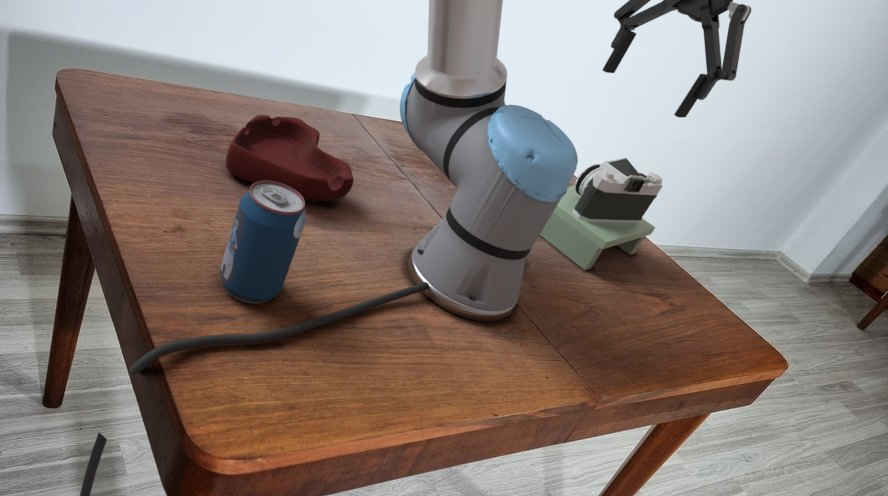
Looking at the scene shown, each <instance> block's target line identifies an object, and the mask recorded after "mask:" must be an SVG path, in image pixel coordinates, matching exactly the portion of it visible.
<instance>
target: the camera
mask: <svg viewBox="0 0 888 496" xmlns="http://www.w3.org/2000/svg"><path fill="white" fill-rule="evenodd" d="M574 186H575V189H576V192H577V193H578V194H579V195H580V196H581V198H580V200H579V201H578V203H577V205H576V206H575V207H574V209H573V211H572V212H573V213H574V214H575V215H576V216H577V217H578V218H580V219H582V220H584V221H586V222H611V223H638V222H639V221H640V220H641V219H642V218H643V217H644V215H645V214H646V213H647V211H648V210H649V208H650V206H651V205H652V203H653V202H654V200H655V199H656V198H657V196H658V194H659V193H660V191H661V189H662V188H663V178H662V177H661V176H660V175H659V174H657V173H654V172H649V173H648V174H644V173H642V172H638V170H637V169H636V168H635V167H634V166H633V164H632V163H631V162H630V160H629V159H628V158H627V157H621V158H617V159H611V160H607V161H604V162H603V163H601V164H598V163H594V164H590V165H589V166H587V167H585V168H584V169H583V170H582V171H581V172H580V173H579V174H578V176H577V177H576V180H575V182H574Z"/></svg>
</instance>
